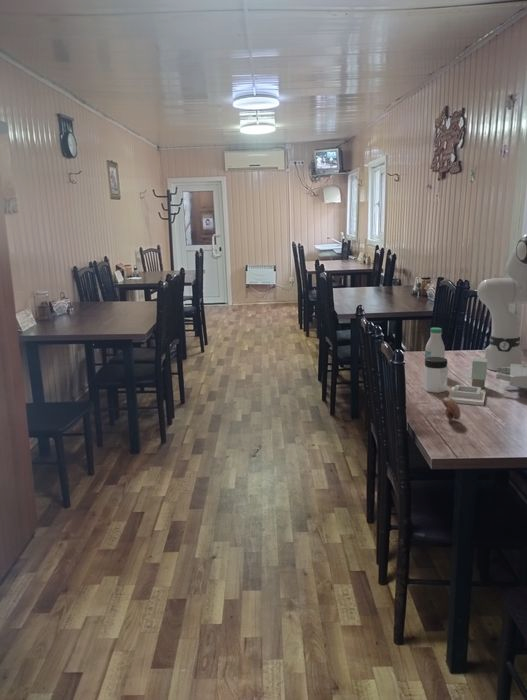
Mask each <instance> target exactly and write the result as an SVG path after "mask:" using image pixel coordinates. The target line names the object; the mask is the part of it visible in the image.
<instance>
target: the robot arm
mask: <svg viewBox="0 0 527 700" xmlns="http://www.w3.org/2000/svg"><path fill="white" fill-rule="evenodd" d="M505 272H506V274H507V275H508V276H509V277H494V278H493V277H492V278H488V279H484V280H482V281H481V282H479V284H478V285H477V289H476V291H477V292H476V294H477V298H478V300H479V301H480V302H481V303H482V304H483V305H485V306H486V308H487V309H488V311H489V313H490V317H491V332H490V333H491V334H490V336H489V345H488V346H487V347H486V348H485V349H484V357H483V359H487V370H491V371H496V376H495V379H497V380H501V381H505V382H509V386H512V387H514V388H522V389H527V364H524V363H523V359H524V358H523V355H524V352H523V350H522V349H521V347H520V345H521V337H520V332H521V322H522V321H521V318H520V316H518V315H517V314H516V313H514V312H512V311H510V305H517V304H518V305H523V304H527V232H526V233H524V234H523V235H522V237H521V238H520V239H519V240H518V241H517V243H516V245H515V247H514V248H513V250H512V252H511V254H510V255H509V258H508V260H507V262H506V265H505ZM502 373H504V374H502ZM505 373H506V374H505Z"/></svg>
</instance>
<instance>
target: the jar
mask: <svg viewBox="0 0 527 700" xmlns="http://www.w3.org/2000/svg"><path fill="white" fill-rule="evenodd" d="M422 371H423V372H422V373H423V376H422V389H423V390H424V391H426V392H427V393H436V394H440V393H443V392H447V390H448V389H447V388H448V373H449V367H448V358H446V357H444V358H442V357H427V358H425V357H424V365H423V370H422Z"/></svg>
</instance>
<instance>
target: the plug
mask: <svg viewBox="0 0 527 700" xmlns="http://www.w3.org/2000/svg"><path fill="white" fill-rule="evenodd" d="M471 363H472V364H471V365H472V366H471V386H473V387H481V389H483V390H485V387H486V386H485V385H486V379H487V378H486V377H487V370H488V369H487V359H484V358H479V357H478V358H477V357H473V359H472V362H471Z"/></svg>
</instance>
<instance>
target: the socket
mask: <svg viewBox="0 0 527 700" xmlns="http://www.w3.org/2000/svg"><path fill="white" fill-rule="evenodd" d="M486 392H487V389H484V390H483V389H481V387H473V386H472V385H462V384H461V385H460V384H455V386H451V389H450V390H449V393H448V396H447V397H449V398H452V399H453V400H454V401H455V402H456V404H463V405H464V404H465V405H474V406H484V404H485V399H486V394H487V393H486Z"/></svg>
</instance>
